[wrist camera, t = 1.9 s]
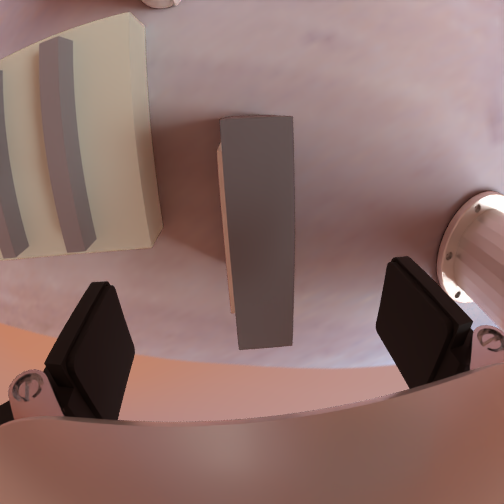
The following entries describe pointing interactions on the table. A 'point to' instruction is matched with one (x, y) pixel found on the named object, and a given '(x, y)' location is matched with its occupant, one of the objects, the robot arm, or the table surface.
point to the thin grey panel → (259, 226)
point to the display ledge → (78, 144)
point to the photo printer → (161, 3)
